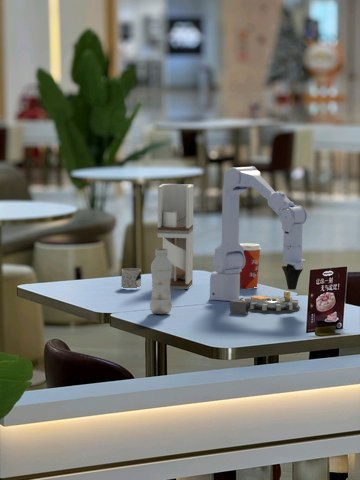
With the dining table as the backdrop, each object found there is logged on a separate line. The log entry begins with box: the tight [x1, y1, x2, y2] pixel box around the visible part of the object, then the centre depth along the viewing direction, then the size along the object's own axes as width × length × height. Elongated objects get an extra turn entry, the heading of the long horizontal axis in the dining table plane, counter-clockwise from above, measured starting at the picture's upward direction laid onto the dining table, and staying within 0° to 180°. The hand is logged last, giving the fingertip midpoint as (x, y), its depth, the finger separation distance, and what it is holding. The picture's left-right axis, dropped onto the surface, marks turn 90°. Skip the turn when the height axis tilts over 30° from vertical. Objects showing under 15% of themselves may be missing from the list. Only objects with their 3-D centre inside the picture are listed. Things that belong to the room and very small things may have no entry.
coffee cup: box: [239, 242, 262, 290], centre depth 423 cm, size 8×8×15 cm
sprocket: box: [244, 290, 299, 311], centre depth 387 cm, size 17×17×5 cm
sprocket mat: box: [248, 305, 301, 315], centre depth 387 cm, size 19×18×1 cm
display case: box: [157, 183, 195, 290], centre depth 422 cm, size 11×11×35 cm
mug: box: [121, 267, 142, 288], centre depth 421 cm, size 10×7×7 cm
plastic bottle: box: [149, 247, 173, 315], centre depth 374 cm, size 6×7×20 cm
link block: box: [229, 299, 249, 316], centre depth 378 cm, size 5×3×4 cm, turn 71°
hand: (291, 289), depth 380 cm, fingers closed
